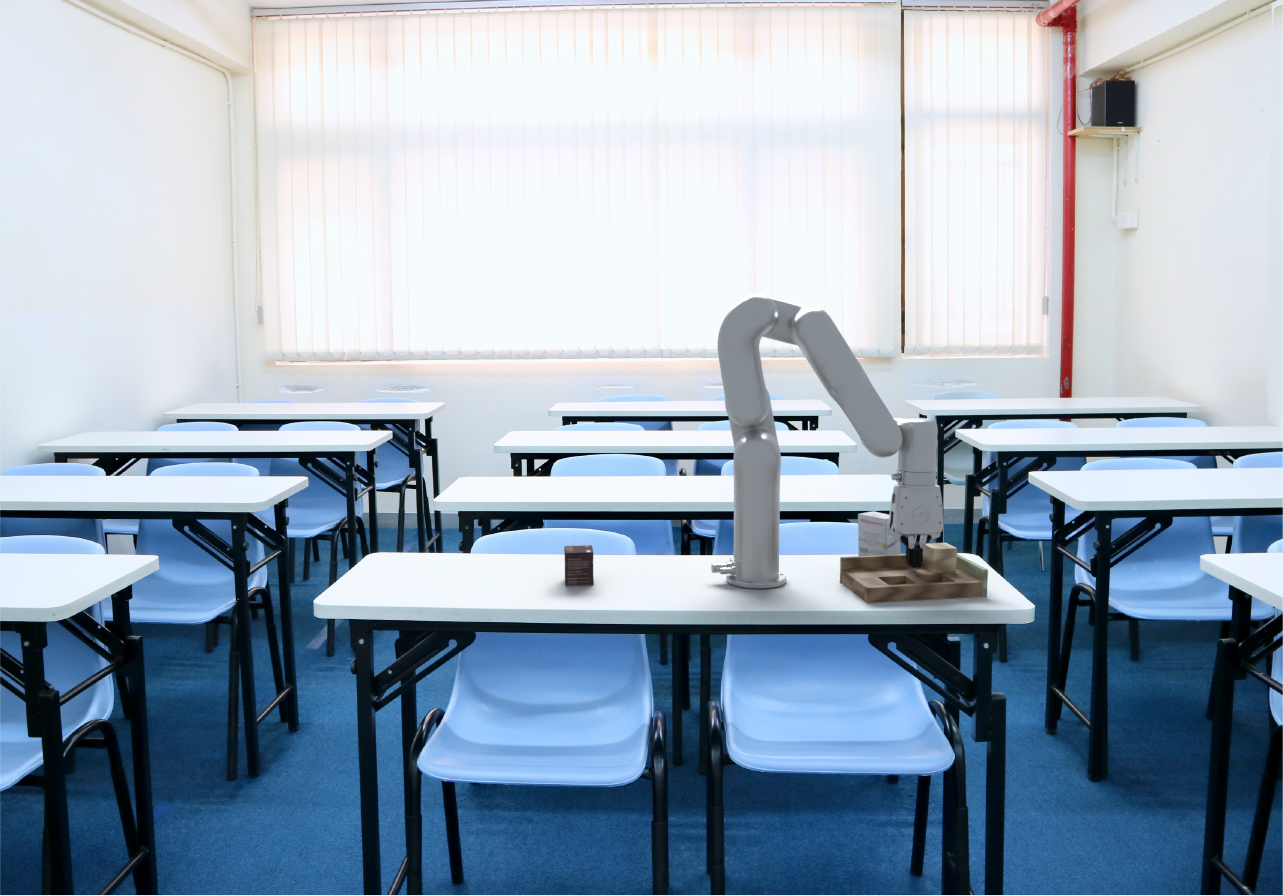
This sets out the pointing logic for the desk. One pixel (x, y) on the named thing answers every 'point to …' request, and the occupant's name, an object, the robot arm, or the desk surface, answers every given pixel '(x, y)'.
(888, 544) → the ink box
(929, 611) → the desk surface
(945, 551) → the beech block
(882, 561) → the tray
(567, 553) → the box
